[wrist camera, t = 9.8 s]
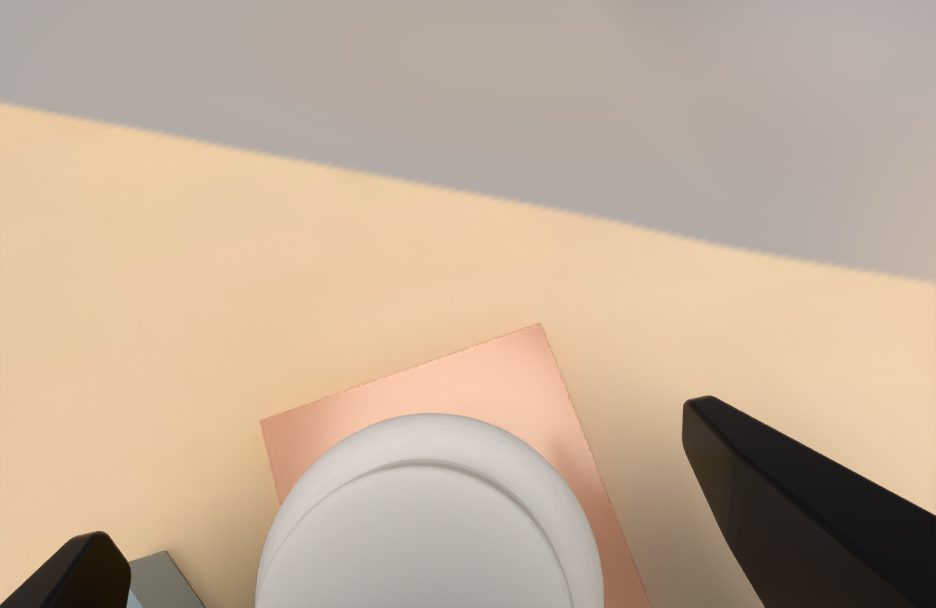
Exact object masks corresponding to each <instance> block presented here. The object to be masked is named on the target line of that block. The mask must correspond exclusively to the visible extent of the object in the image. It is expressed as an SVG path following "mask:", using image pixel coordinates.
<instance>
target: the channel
mask: <svg viewBox="0 0 936 608" xmlns="http://www.w3.org/2000/svg"><path fill="white" fill-rule="evenodd" d="M128 563H129V565H130V568H131V585H130V590H129V596H128V602H127V608H205V607H204V606H203V604H202V603H201V601H200V600H199V599H198V597H197V596H196V594H195V593H194V591H193V590H192V588H191V587H190V586H189V584H188V583H187V581H186V580H185V578H184V577H183V575H182V574H181V572H180V571H179V570H178V568H177V567H176V565H175V564H174V562H173V561H172V559H171V558H170V557H169V555H168V554H167V552H166V551H163V552H160V553H156V554H153V555H150V556H146V557H143V558H140V559H137V560H133V561H130V562H128Z"/></svg>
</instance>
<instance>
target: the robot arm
mask: <svg viewBox="0 0 936 608" xmlns="http://www.w3.org/2000/svg"><path fill="white" fill-rule="evenodd" d="M682 442H683V447H684V450H685V453H686V456H687V458H688V460H689V462H690V464H691V467H692V469H693V471H694V473H695V475H696V478H697V480H698V482H699V484H700V486H701V488H702V491H703V493H704V495H705V497H706V499H707V502H708V504H709V506H710V508H711V510H712V512H713V515H714V517H715V519H716V521H717V523H718V526H719V528H720V530H721V532H722V534H723V536H724V538H725V540H726V542H727V544H728V546H729V547H730V549H731V551H732V553H733V555H734V556H735V558H736V560H737V561H738V563H739V565H740V566H741V568H742V570H743V571H744V573H745V575H746V576H747V578H748V580H749V581H750V583H751V585H752V587H753V588H754V590H755V592H756V593H757V595H758V597H759V598H760V600H761V602H762V603H763V605H764V607H765V608H936V515H934V514H932V513H930V512H928V511H926V510H925V509H923V508H921V507H919V506H917V505H915V504H913V503H912V502H910V501H908V500H906V499H904V498H902V497H900V496H898V495H897V494H895V493H893V492H891V491H889V490H887V489H885V488H884V487H882V486H880V485H878V484H876V483H874V482H872V481H871V480H869V479H867V478H865V477H863V476H861V475H859V474H857V473H856V472H854V471H852V470H850V469H848V468H846V467H844V466H843V465H841V464H839V463H837V462H835V461H833V460H831V459H830V458H828V457H826V456H824V455H822V454H820V453H818V452H816V451H815V450H813V449H811V448H809V447H807V446H805V445H803V444H802V443H800V442H798V441H796V440H794V439H792V438H790V437H789V436H787V435H785V434H783V433H781V432H779V431H777V430H776V429H774V428H772V427H770V426H768V425H766V424H764V423H762V422H761V421H759V420H757V419H755V418H753V417H751V416H749V415H748V414H746V413H744V412H742V411H740V410H738V409H736V408H735V407H733V406H731V405H729V404H727V403H725V402H723V401H721V400H720V399H718V398H716V397H713V396H702V397H698V398H693V399H689V400H687V401H686V402H685V403H684V405H683V423H682ZM130 585H131V568H130V565H129V563H128V561H127V560H126V558H125V557H124V556H123V554H122V553H121V551H120V550H119V549H118V547H117V546H116V545H115V543H114V542H113V540H112V539H111V538H110V536H109V535H108V534H107V533H105V532H103V531H96V532H91V533H87V534H82V535H78V536H75V537H73V538H71V539H70V540H69V541H68V542H66V543H65V544H64V545H63V546H62V547H61V548H60V549H59V550H58V551H57V552H56V553H55V554H54V555H53V556H52V557H50V558H49V559H48V560H47V561H46V562H45V563H44V564H43V565H42V566H41V567H40V568H39V569H38V570H37V571H36V572H35V573H33V574H32V575H31V576H30V577H29V578H28V579H27V580H26V581H25V582H24V583H23V584H22V585H21V586H20V587H19V588H18V589H16V590H15V591H14V592H13V593H12V594H11V595H10V596H9V597H8V598H7V599H6V600H5V601H4V602H3V603H2V604H1V605H0V608H127V602H128V596H129V590H130Z"/></svg>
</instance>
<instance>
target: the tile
mask: <svg viewBox="0 0 936 608" xmlns="http://www.w3.org/2000/svg"><path fill="white" fill-rule="evenodd" d="M420 413H443V414H453V415H459V416H465V417H469V418H473V419H478V420H481V421H484V422H487V423H489V424H492V425H494V426H497V427H499V428H501V429H503V430H505V431H507V432H509V433H511V434H513V435H514V436H516V437H518V438H519V439H521V440H522V441H524V442H526V443H527V444H528V445H529V446H531V447H532V448H533V449H535V450H536V451H537V452H539V453H540V454H541V455H542V456H543V457H544V458H545V459H546V460H547V461H548V462H549V463H550V464H551V465H552V466H553V467H554V468H555V469H556V471H557V472H558V473H559V474H560V475H561V476H562V477H563V479H564V480H565V481H566V483H567V484H568V486H569V487H570V489H571V490H572V492H573V493H574V495H575V496H576V498H577V500H578V501H579V503H580V505H581V507H582V509H583V511H584V513H585V515H586V517H587V520H588V522H589V524H590V527H591V530H592V533H593V535H594V538H595V541H596V544H597V548H598V552H599V556H600V562H601V569H602V574H603V585H604V608H651V606H650V603H649V601H648V598H647V596H646V593H645V590H644V588H643V585H642V583H641V580H640V578H639V575H638V572H637V570H636V567H635V565H634V562H633V560H632V557H631V554H630V552H629V549H628V547H627V544H626V542H625V539H624V536H623V534H622V531H621V529H620V526H619V524H618V521H617V518H616V516H615V513H614V511H613V508H612V506H611V503H610V500H609V498H608V495H607V493H606V490H605V488H604V485H603V483H602V480H601V477H600V475H599V472H598V470H597V467H596V465H595V462H594V459H593V457H592V454H591V452H590V449H589V447H588V444H587V441H586V439H585V436H584V434H583V431H582V429H581V426H580V423H579V421H578V418H577V416H576V413H575V411H574V408H573V405H572V403H571V400H570V398H569V395H568V393H567V390H566V387H565V385H564V382H563V380H562V377H561V375H560V372H559V369H558V367H557V364H556V362H555V359H554V357H553V354H552V352H551V349H550V346H549V344H548V341H547V339H546V336H545V334H544V331H543V328H542V326H541V323H539V324H536V325H533V326H531V327H528V328H525V329H522V330H519V331H516V332H513V333H510V334H508V335H505V336H502V337H499V338H496V339H493V340H490V341H487V342H485V343H482V344H479V345H476V346H473V347H470V348H467V349H464V350H462V351H459V352H456V353H453V354H450V355H447V356H444V357H441V358H439V359H436V360H433V361H430V362H427V363H424V364H421V365H418V366H416V367H413V368H410V369H407V370H404V371H401V372H398V373H395V374H393V375H390V376H387V377H384V378H381V379H378V380H375V381H372V382H370V383H367V384H364V385H361V386H358V387H355V388H352V389H349V390H347V391H344V392H341V393H338V394H335V395H332V396H329V397H326V398H324V399H321V400H318V401H315V402H312V403H309V404H306V405H303V406H301V407H298V408H295V409H292V410H289V411H286V412H283V413H280V414H278V415H275V416H272V417H269V418H266V419H263V420H260V425H261V429H262V433H263V437H264V441H265V445H266V449H267V452H268V456H269V460H270V464H271V468H272V472H273V476H274V480H275V484H276V488H277V492H278V496H279V499H280V503H281V505H282V504H283V502H284V500H285V499H286V497H287V495H288V494H289V492H290V491H291V489H292V488H293V486H294V485H295V484H296V482H297V481H298V480H299V479H300V477H301V476H302V475H303V474H304V472H305V471H306V470H307V469H308V468H309V467H310V466H311V465H312V464H313V463H314V462H316V461H317V460H318V459H319V458H320V457H321V456H322V455H323V454H324V453H325V452H327V451H328V450H329V449H330V448H332V447H333V446H334V445H336V444H337V443H339V442H340V441H342V440H343V439H345V438H346V437H348V436H350V435H352V434H354V433H356V432H357V431H359V430H361V429H363V428H366V427H368V426H370V425H373V424H375V423H378V422H381V421H383V420H387V419H390V418H395V417H399V416H404V415H410V414H420Z"/></svg>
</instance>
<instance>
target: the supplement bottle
mask: <svg viewBox="0 0 936 608" xmlns="http://www.w3.org/2000/svg"><path fill="white" fill-rule="evenodd" d="M255 608H604V585H603V574H602V569H601V562H600V556H599V552H598V548H597V544H596V541H595V538H594V535H593V533H592V530H591V527H590V524H589V522H588V520H587V517H586V515H585V513H584V511H583V509H582V507H581V505H580V503H579V501H578V500H577V498H576V496H575V495H574V493H573V492H572V490H571V489H570V487H569V486H568V484H567V483H566V481H565V480H564V479H563V477H562V476H561V475H560V474H559V473H558V472H557V471H556V469H555V468H554V467H553V466H552V465H551V464H550V463H549V462H548V461H547V460H546V459H545V458H544V457H543V456H542V455H541V454H540V453H539V452H537V451H536V450H535V449H533V448H532V447H531V446H529V445H528V444H527V443H526V442H524V441H522V440H521V439H519V438H518V437H516V436H514V435H513V434H511V433H509V432H507V431H505V430H503V429H501V428H499V427H497V426H494V425H492V424H489V423H487V422H484V421H481V420H478V419H473V418H469V417H465V416H459V415H453V414H443V413H420V414H410V415H404V416H399V417H395V418H390V419H387V420H383V421H381V422H378V423H375V424H373V425H370V426H368V427H366V428H363V429H361V430H359V431H357V432H356V433H354V434H352V435H350V436H348V437H346V438H345V439H343V440H342V441H340V442H339V443H337V444H336V445H334V446H333V447H332V448H330V449H329V450H328V451H327V452H325V453H324V454H323V455H322V456H321V457H320V458H319V459H318V460H317V461H316V462H314V463H313V464H312V465H311V466H310V467H309V468H308V469H307V470H306V471H305V472H304V474H303V475H302V476H301V477H300V479H299V480H298V481H297V482H296V484H295V485H294V486H293V488H292V489H291V491H290V492H289V494H288V495H287V497H286V499H285V500H284V502H283V504H282V505H281V507H280V509H279V511H278V513H277V515H276V517H275V519H274V521H273V523H272V526H271V528H270V531H269V533H268V535H267V539H266V542H265V545H264V548H263V551H262V555H261V559H260V564H259V569H258V575H257V582H256V593H255Z"/></svg>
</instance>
